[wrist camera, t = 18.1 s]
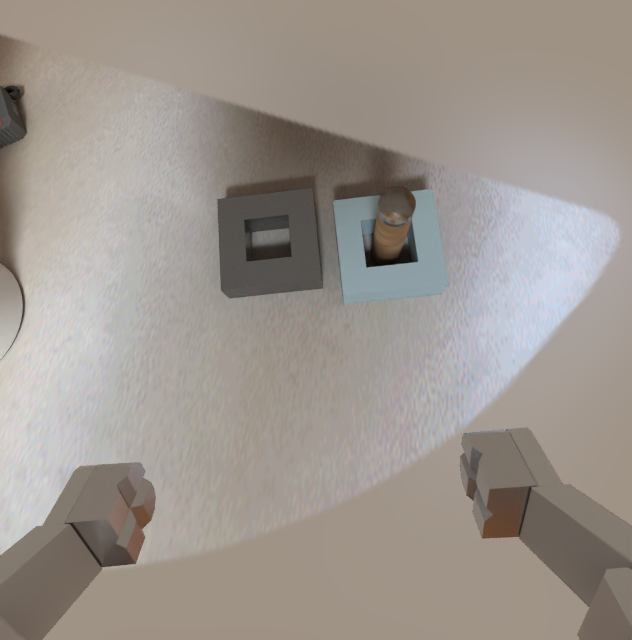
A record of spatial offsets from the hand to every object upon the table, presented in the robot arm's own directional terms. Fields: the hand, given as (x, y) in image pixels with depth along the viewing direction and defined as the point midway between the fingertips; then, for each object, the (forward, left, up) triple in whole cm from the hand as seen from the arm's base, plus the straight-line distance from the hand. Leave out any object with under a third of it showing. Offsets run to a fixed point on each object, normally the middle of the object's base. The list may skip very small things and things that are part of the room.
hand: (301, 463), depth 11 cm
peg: (+7, +17, -31) cm, 37 cm away
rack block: (+7, +17, -31) cm, 37 cm away
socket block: (-5, +19, -31) cm, 37 cm away
